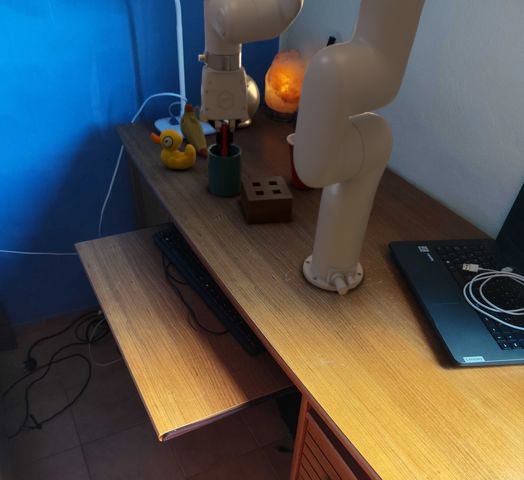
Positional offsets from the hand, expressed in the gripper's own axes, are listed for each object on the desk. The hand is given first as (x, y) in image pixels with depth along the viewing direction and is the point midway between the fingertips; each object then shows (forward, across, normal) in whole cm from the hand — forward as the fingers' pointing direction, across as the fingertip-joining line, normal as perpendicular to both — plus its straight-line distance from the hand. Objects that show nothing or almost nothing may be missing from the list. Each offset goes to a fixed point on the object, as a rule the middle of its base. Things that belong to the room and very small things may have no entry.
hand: (224, 146), depth 112 cm
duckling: (+11, -11, +12) cm, 20 cm away
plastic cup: (+11, +21, 0) cm, 24 cm away
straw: (+9, 0, 0) cm, 9 cm away
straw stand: (+11, +8, -12) cm, 18 cm away
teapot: (+11, +10, +42) cm, 45 cm away
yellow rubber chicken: (+11, -5, +26) cm, 29 cm away
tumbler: (+11, 0, 0) cm, 11 cm away
